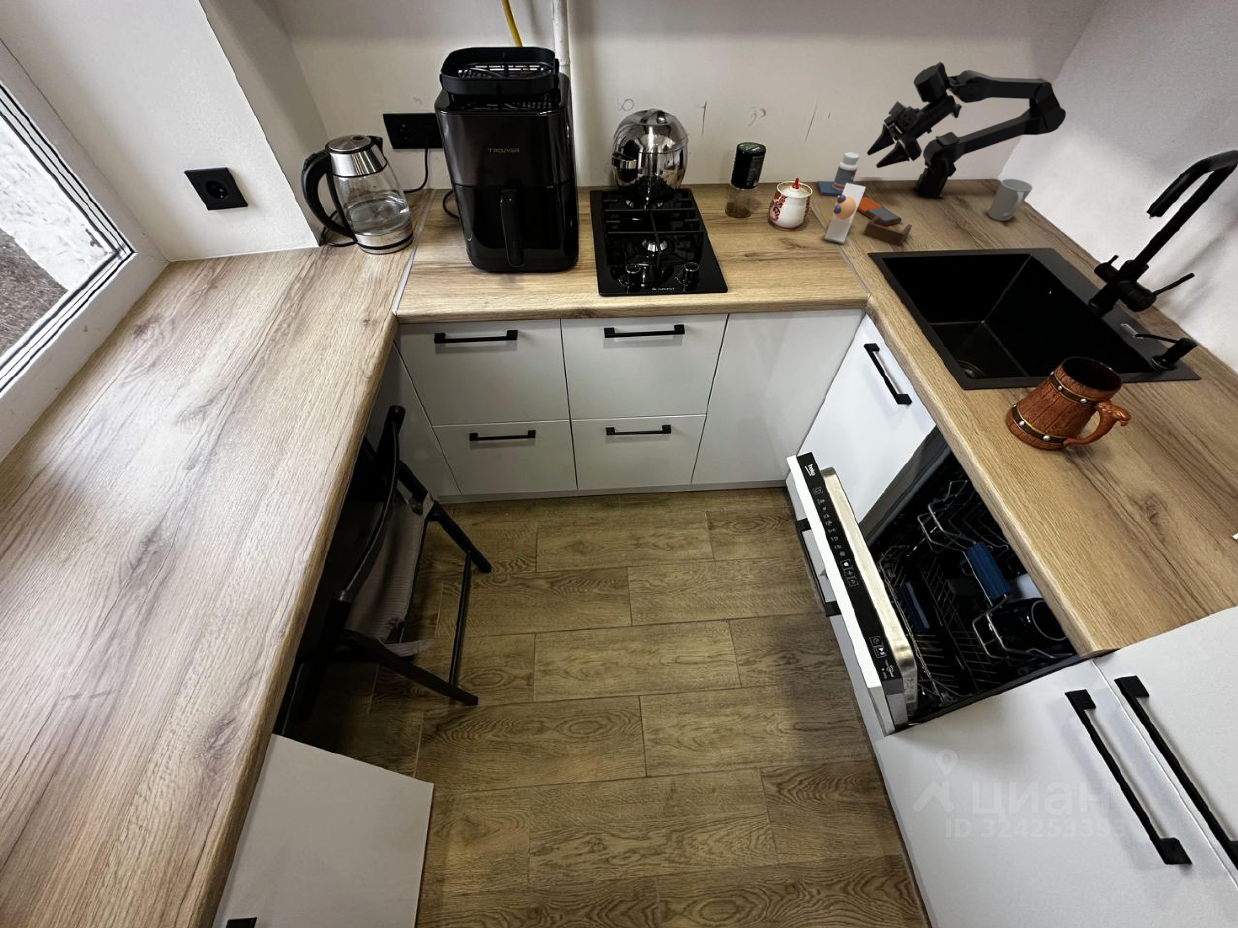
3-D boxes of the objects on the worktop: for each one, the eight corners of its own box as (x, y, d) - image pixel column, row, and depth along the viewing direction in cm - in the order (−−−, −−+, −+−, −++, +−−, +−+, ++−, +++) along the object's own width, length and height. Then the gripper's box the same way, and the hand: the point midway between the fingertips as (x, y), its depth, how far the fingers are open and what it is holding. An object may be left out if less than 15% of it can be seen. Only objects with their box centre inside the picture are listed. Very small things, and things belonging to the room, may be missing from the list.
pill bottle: (849, 193, 152) (861, 159, 146) (831, 190, 153) (841, 157, 147) (850, 185, 156) (861, 153, 149) (832, 183, 157) (842, 150, 150)
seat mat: (857, 186, 158) (858, 183, 157) (862, 197, 152) (863, 195, 152) (817, 183, 158) (817, 181, 158) (820, 195, 153) (821, 192, 152)
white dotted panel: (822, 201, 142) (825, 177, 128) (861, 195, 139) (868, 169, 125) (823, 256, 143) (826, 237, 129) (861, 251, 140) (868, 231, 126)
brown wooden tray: (872, 225, 141) (877, 214, 139) (907, 236, 138) (912, 225, 135) (863, 234, 138) (867, 223, 136) (898, 245, 134) (903, 234, 132)
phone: (866, 195, 150) (903, 218, 141) (864, 200, 151) (901, 223, 142) (848, 199, 148) (884, 222, 140) (846, 204, 149) (882, 227, 141)
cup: (1008, 211, 148) (1027, 180, 142) (1020, 228, 142) (1040, 195, 135) (980, 209, 149) (997, 177, 142) (990, 225, 143) (1009, 193, 136)
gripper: (905, 80, 142) (850, 125, 151) (929, 102, 130) (868, 150, 139) (921, 114, 148) (867, 156, 156) (946, 138, 136) (886, 182, 144)
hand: (872, 160), depth 149 cm, fingers open, 9 cm apart
